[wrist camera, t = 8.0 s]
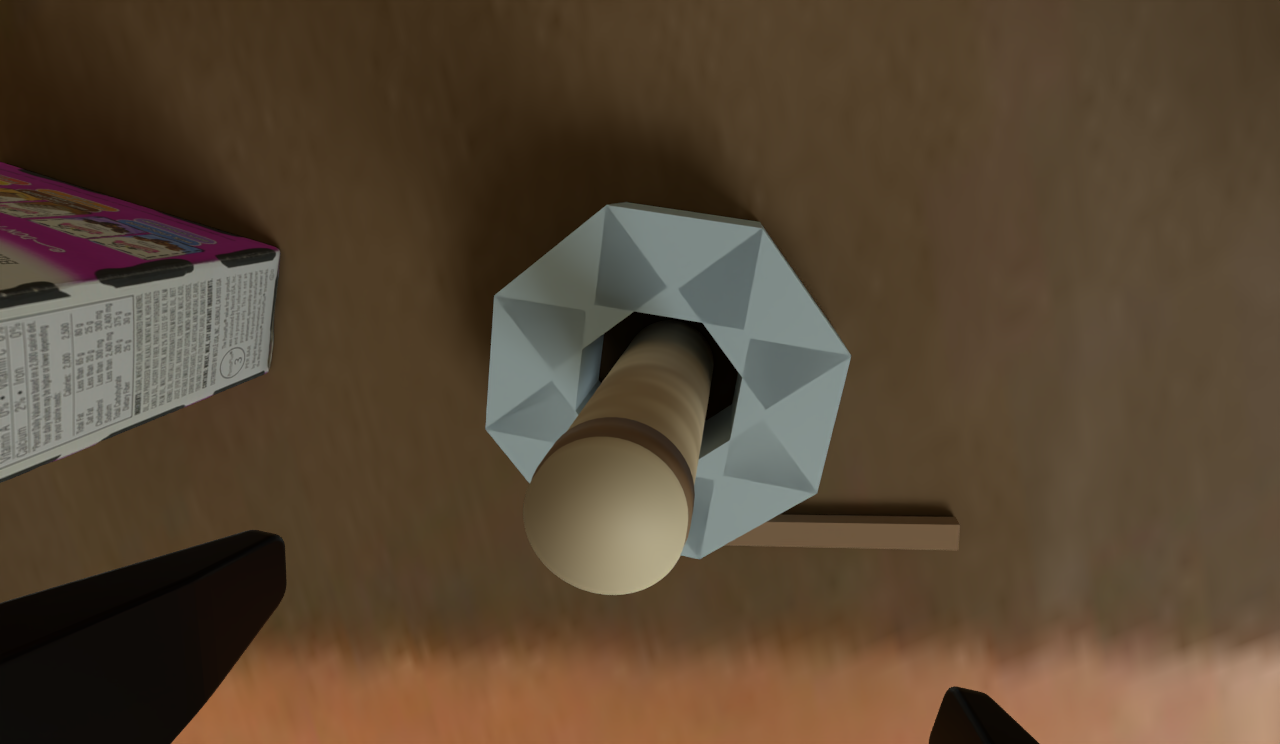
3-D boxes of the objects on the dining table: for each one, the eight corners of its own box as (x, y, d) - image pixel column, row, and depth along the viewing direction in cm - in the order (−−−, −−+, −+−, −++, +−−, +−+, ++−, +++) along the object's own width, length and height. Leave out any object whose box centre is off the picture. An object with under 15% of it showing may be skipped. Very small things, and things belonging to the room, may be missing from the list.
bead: (857, 235, 18) (879, 245, 15) (788, 525, 21) (795, 579, 18) (536, 188, 19) (500, 189, 16) (513, 470, 22) (479, 513, 19)
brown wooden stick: (955, 516, 20) (960, 525, 19) (953, 541, 20) (958, 550, 20) (589, 512, 22) (585, 519, 21) (591, 534, 22) (588, 542, 22)
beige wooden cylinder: (722, 327, 19) (702, 461, 10) (707, 413, 20) (674, 613, 11) (631, 312, 20) (527, 428, 10) (619, 397, 21) (514, 577, 11)
